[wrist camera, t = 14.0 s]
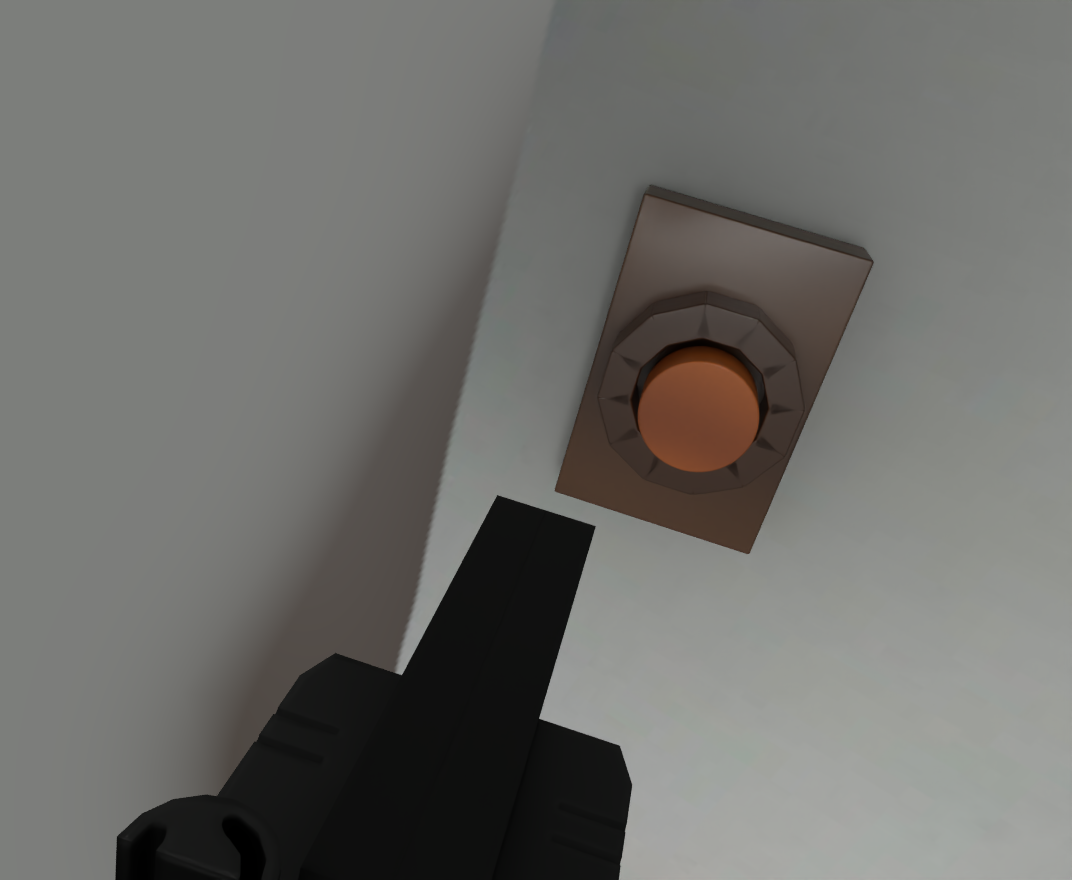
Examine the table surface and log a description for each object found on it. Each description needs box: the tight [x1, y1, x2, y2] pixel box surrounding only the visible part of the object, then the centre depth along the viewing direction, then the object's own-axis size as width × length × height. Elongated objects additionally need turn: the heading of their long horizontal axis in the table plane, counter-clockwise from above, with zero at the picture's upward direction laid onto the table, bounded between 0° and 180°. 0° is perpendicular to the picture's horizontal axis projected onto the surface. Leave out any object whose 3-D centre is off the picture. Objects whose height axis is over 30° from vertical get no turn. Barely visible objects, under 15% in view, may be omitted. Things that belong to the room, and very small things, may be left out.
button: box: [638, 346, 759, 472], centre depth 31 cm, size 4×4×2 cm
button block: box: [555, 185, 874, 554], centre depth 33 cm, size 12×8×4 cm, turn 165°
